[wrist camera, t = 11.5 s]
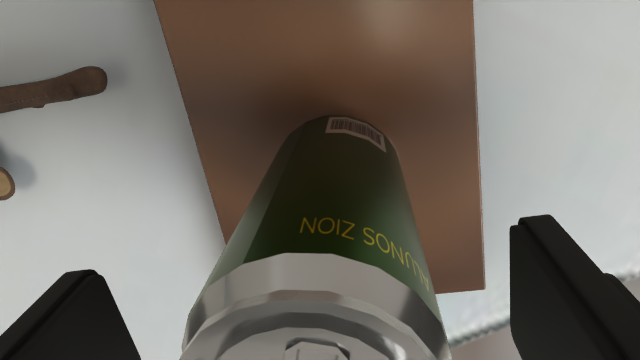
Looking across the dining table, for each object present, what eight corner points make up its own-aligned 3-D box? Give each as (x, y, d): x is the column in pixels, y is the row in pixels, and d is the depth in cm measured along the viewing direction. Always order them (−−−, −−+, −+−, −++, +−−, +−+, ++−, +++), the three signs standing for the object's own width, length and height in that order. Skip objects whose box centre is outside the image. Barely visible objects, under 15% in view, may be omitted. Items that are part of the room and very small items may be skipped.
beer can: (282, 101, 18) (157, 261, 7) (411, 120, 18) (504, 317, 6) (271, 216, 20) (162, 483, 9) (386, 233, 20) (425, 529, 9)
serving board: (129, -137, 16) (108, -151, 15) (452, -221, 15) (462, -245, 13) (251, 294, 23) (245, 312, 22) (477, 272, 22) (485, 290, 20)
